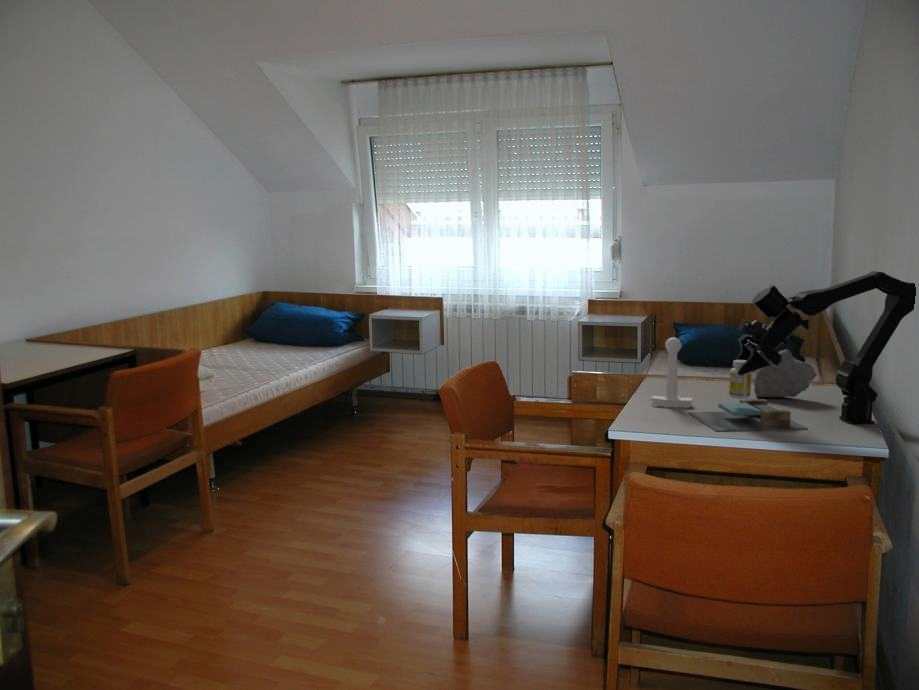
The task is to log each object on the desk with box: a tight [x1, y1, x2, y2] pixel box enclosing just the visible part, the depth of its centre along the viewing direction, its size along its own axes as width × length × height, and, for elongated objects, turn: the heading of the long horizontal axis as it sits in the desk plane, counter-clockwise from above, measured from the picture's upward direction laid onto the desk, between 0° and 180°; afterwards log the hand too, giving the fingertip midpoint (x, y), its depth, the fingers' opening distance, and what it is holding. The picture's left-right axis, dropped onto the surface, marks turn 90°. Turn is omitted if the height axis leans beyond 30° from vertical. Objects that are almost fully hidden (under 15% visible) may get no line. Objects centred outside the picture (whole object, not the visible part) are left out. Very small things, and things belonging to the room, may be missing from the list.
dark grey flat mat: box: [688, 398, 808, 433], centre depth 213 cm, size 24×20×4 cm
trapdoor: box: [718, 402, 778, 416], centre depth 213 cm, size 14×10×3 cm
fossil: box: [753, 349, 818, 398], centre depth 240 cm, size 17×7×15 cm, turn 69°
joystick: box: [650, 336, 693, 409], centre depth 232 cm, size 11×8×20 cm
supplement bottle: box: [728, 359, 752, 400], centre depth 212 cm, size 5×5×10 cm
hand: (735, 372), depth 212 cm, fingers closed on supplement bottle, 5 cm apart
